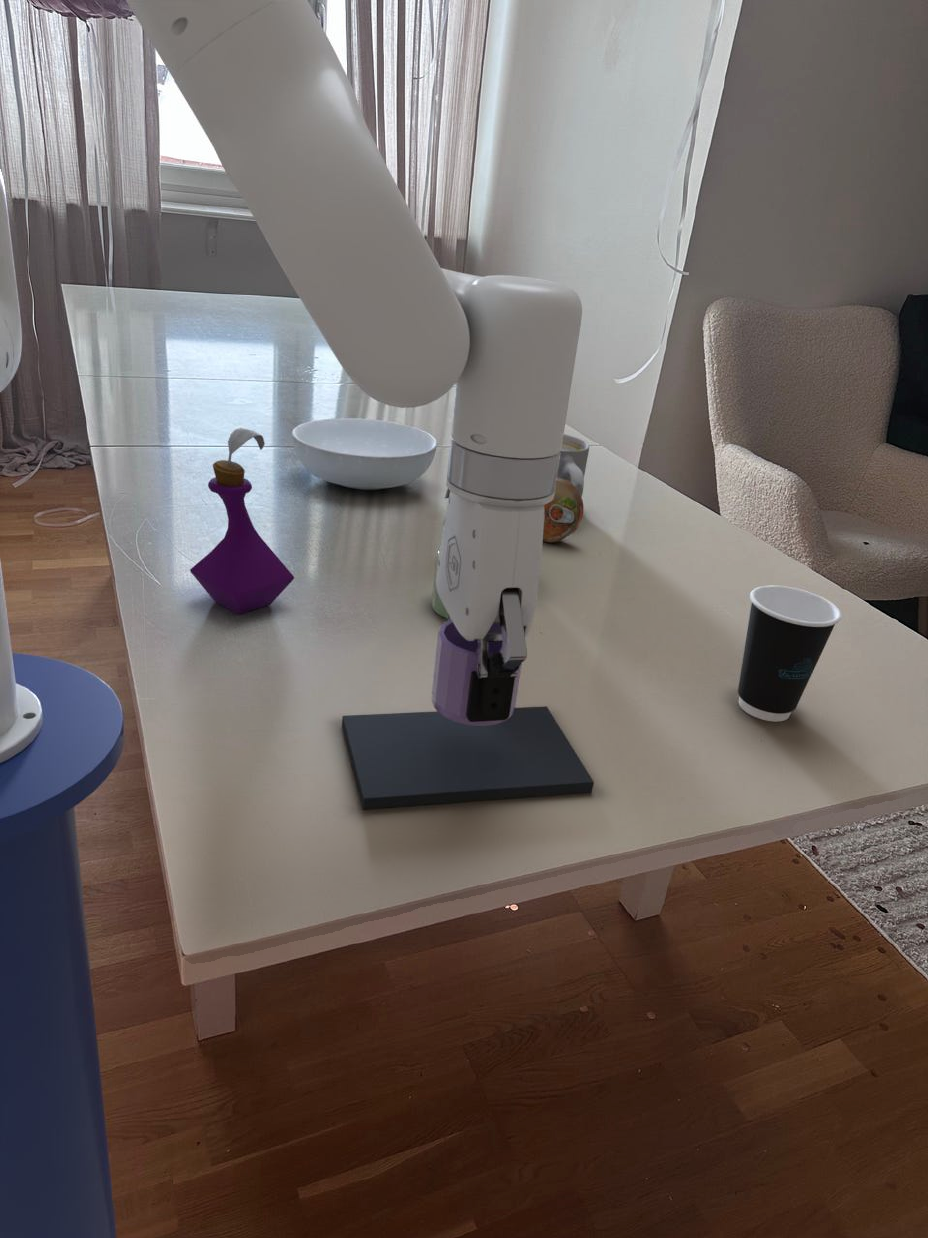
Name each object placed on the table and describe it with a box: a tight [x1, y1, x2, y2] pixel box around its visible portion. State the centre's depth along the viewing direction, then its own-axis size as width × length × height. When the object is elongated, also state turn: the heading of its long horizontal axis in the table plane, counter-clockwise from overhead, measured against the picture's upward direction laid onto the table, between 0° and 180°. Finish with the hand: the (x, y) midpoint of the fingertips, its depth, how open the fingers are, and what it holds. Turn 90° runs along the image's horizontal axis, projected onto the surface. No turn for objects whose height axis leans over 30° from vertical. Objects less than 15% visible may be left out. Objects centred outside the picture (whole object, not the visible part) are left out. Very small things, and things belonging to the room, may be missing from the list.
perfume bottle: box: [189, 427, 295, 615], centre depth 88 cm, size 8×8×18 cm
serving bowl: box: [291, 417, 438, 491], centre depth 131 cm, size 21×21×7 cm
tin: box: [543, 477, 584, 543], centre depth 119 cm, size 15×3×8 cm, turn 58°
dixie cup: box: [737, 584, 842, 723], centre depth 82 cm, size 8×8×11 cm
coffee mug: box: [557, 433, 590, 498], centre depth 127 cm, size 13×10×10 cm
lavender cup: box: [431, 619, 523, 726], centre depth 68 cm, size 6×6×6 cm
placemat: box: [341, 705, 595, 810], centre depth 72 cm, size 18×11×1 cm, turn 105°
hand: (474, 691), depth 69 cm, fingers closed on lavender cup, 6 cm apart
